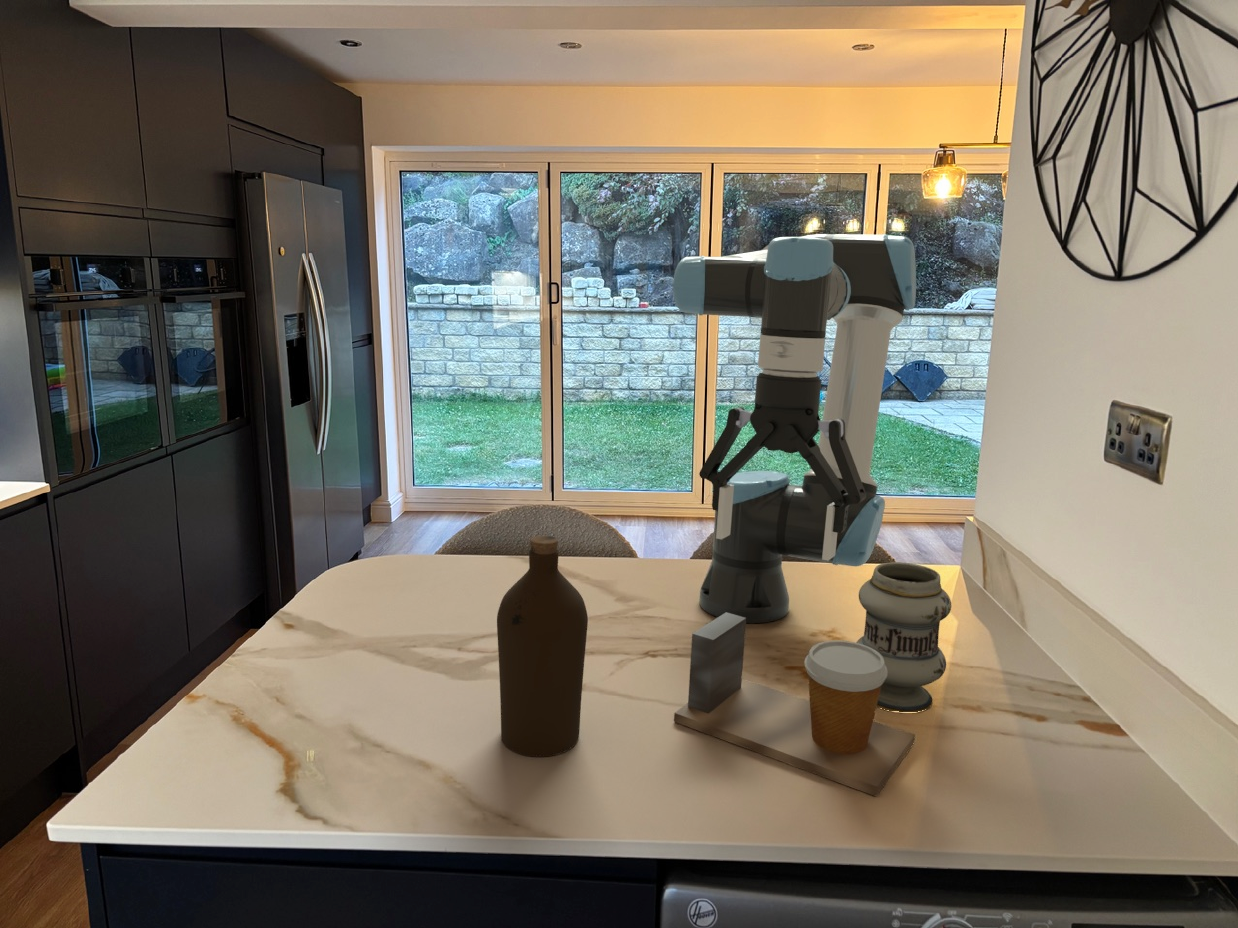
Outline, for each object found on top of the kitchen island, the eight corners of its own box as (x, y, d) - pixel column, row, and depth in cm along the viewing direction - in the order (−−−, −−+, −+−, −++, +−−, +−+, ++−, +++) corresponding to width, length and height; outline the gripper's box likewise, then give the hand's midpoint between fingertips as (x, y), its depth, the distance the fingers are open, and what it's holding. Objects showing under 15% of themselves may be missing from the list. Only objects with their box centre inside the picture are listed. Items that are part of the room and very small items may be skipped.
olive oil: (581, 762, 101) (588, 555, 95) (489, 758, 101) (490, 552, 95) (586, 716, 111) (592, 527, 105) (502, 712, 111) (504, 524, 105)
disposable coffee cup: (880, 776, 100) (889, 681, 97) (795, 762, 102) (802, 669, 99) (879, 732, 109) (888, 644, 106) (801, 720, 111) (807, 634, 108)
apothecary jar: (840, 673, 126) (852, 554, 122) (924, 677, 125) (939, 558, 121) (860, 715, 114) (874, 585, 110) (953, 720, 113) (971, 589, 109)
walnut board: (673, 721, 110) (678, 638, 108) (726, 681, 122) (731, 605, 119) (876, 796, 96) (886, 703, 94) (914, 743, 107) (924, 658, 105)
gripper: (680, 365, 106) (669, 534, 110) (888, 385, 93) (868, 575, 97) (706, 362, 112) (695, 522, 116) (905, 381, 100) (884, 559, 104)
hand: (774, 547), depth 107 cm, fingers open, 13 cm apart
